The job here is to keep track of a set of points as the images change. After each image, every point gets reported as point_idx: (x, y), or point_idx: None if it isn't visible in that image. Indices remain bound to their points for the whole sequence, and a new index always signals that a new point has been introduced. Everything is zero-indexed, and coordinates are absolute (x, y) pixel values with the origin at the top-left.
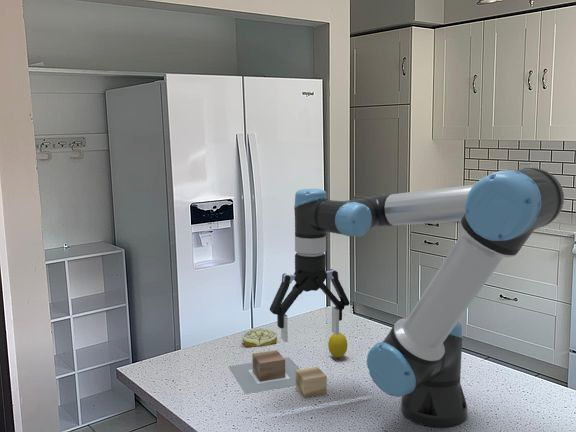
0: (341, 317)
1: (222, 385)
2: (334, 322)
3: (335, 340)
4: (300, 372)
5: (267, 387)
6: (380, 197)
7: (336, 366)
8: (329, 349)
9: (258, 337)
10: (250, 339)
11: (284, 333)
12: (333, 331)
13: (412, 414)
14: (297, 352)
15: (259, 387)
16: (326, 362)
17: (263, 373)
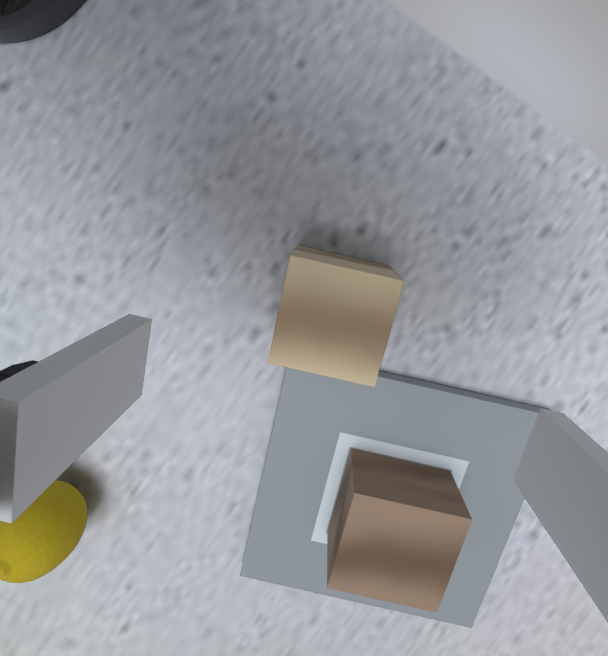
0: (11, 369)
1: None
2: (105, 382)
3: (42, 534)
4: (369, 355)
5: (456, 417)
6: None
7: (113, 440)
8: (84, 525)
9: None
10: None
11: (599, 450)
12: (140, 370)
13: None
14: (177, 602)
15: (481, 433)
16: (128, 485)
17: (443, 485)
